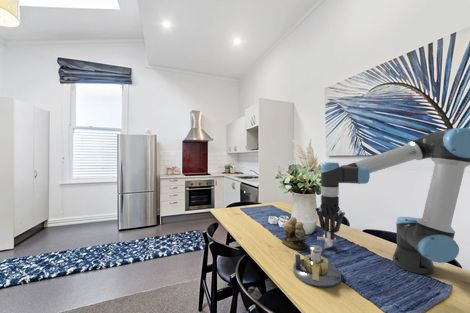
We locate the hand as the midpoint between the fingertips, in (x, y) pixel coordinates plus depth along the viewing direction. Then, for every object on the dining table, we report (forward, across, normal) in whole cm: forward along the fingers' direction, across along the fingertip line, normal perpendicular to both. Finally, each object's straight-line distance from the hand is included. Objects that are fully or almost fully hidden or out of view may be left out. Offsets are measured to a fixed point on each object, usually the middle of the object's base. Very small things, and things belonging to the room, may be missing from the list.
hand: (329, 245), depth 96 cm
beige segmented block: (+9, +3, +8) cm, 12 cm away
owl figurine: (+12, +26, -13) cm, 31 cm away
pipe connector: (+12, +11, -22) cm, 28 cm away
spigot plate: (+12, +3, +8) cm, 14 cm away
